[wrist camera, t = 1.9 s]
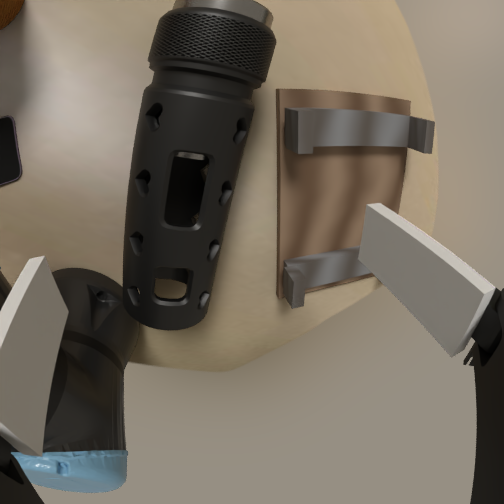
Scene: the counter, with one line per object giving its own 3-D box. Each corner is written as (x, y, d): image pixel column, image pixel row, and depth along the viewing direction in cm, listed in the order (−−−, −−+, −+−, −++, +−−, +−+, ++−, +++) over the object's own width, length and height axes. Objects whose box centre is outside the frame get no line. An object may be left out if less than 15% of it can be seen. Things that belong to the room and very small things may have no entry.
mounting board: (276, 294, 41) (291, 320, 36) (275, 88, 27) (297, 88, 23) (382, 269, 44) (402, 288, 40) (405, 100, 31) (435, 105, 26)
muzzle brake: (124, 268, 33) (116, 330, 24) (166, 15, 20) (167, -23, 12) (202, 274, 36) (218, 334, 27) (259, 34, 24) (303, 11, 15)
